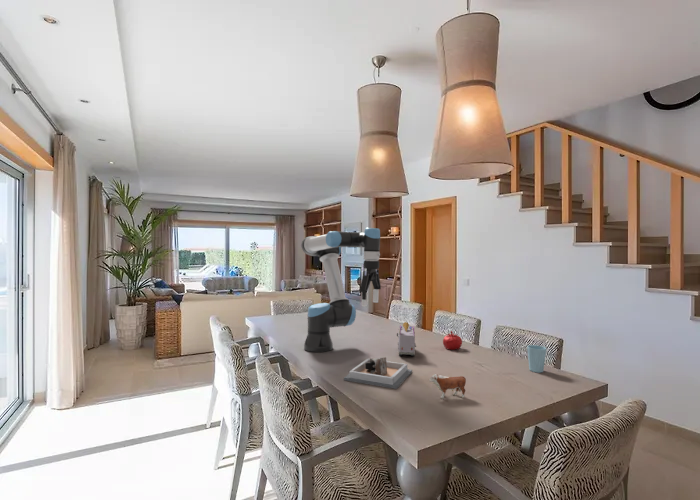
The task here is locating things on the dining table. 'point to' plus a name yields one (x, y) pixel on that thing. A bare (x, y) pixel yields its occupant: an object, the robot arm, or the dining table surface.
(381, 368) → the caster wheel
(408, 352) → the toy vehicle
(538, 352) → the cup
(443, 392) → the bull figurine
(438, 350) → the dining table surface
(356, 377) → the tray
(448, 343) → the pomegranate
